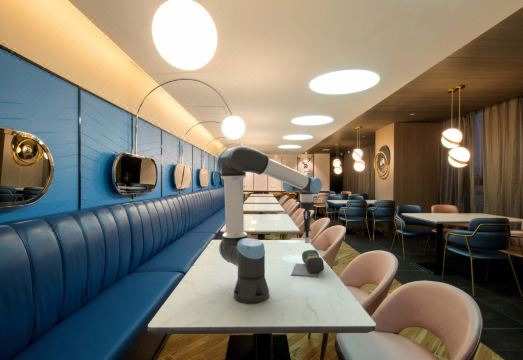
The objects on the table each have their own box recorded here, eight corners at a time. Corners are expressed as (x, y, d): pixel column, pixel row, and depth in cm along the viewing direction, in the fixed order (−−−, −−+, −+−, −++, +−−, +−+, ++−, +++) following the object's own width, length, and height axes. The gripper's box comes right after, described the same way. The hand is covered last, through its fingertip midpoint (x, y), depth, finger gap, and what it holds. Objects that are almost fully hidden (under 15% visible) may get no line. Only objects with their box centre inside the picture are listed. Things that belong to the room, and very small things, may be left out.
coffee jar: (302, 263, 156) (307, 275, 137) (301, 250, 156) (305, 260, 137) (319, 262, 155) (326, 273, 137) (317, 248, 155) (324, 258, 137)
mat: (318, 277, 134) (318, 276, 134) (291, 275, 138) (291, 274, 138) (320, 266, 152) (320, 265, 152) (295, 264, 155) (295, 263, 155)
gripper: (312, 202, 144) (313, 246, 144) (314, 200, 157) (314, 240, 157) (298, 202, 146) (299, 245, 146) (301, 200, 159) (301, 240, 159)
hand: (307, 242), depth 152 cm, fingers closed
